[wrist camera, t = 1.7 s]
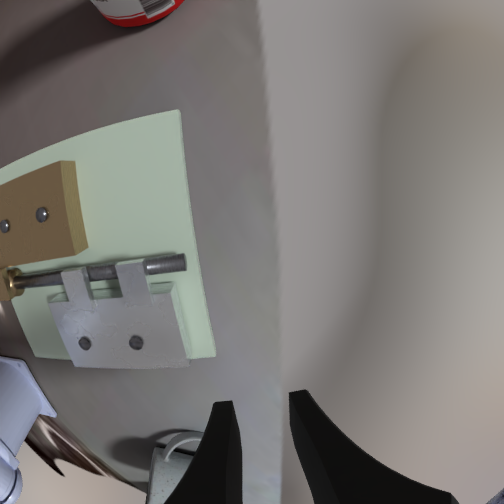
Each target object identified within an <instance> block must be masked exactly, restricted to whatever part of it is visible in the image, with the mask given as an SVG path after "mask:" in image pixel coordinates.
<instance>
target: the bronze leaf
mask: <svg viewBox="0 0 504 504" xmlns="http://www.w3.org/2000/svg"><path fill="white" fill-rule="evenodd" d="M87 248H89V246H88V242H87V237H86V232H85V227H84V222H83V216H82V210H81V204H80V197H79V190H78V182H77V174H76V163H75V161H64V160H60V161H57V162H54V163H52V164H49V165H46V166H44V167H41V168H39V169H36V170H34V171H31V172H29V173H26V174H24V175H22V176H19V177H17V178H15V179H13V180H11V181H8V182H6V183H4V184H2V185H0V301H7V300H11V299H13V298H14V297H16V296H21V295H22V294H23V293H24V291H25V289H28V288H38V287H47V286H57V285H64V283H63V280H62V276H61V272H62V271H64V270H65V269H60V270H53V271H46V272H39V273H32V274H25V275H23V273H22V272H21V271H20V270H19V269H12V270H6V267H12V266H17V265H23V264H28V263H34V262H40V261H46V260H52V259H57V258H64V257H70V256H76V255H77V254H79V253H81V252H82V251H84V250H85V249H87ZM141 259H145V260H146V265H147V269H148V274H149V275H156V274H165V273H173V272H182V271H187V259H186V255H185V253H179V254H172V255H164V256H156V257H149V258H141ZM134 260H137V259H134ZM126 261H130V260H126ZM119 262H122V261H119ZM117 263H118V262H111V263H104V264H97V265H89V266H86V270H87V274H88V277H89V281H90V282H95V281H104V280H113V279H118V276H117V272H116V268H115V265H116V264H117ZM82 267H85V266H82ZM1 268H2V269H1ZM75 268H78V267H75ZM68 269H71V268H68Z"/></svg>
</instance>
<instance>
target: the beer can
mask: <svg viewBox="0 0 504 504" xmlns="http://www.w3.org/2000/svg"><path fill="white" fill-rule="evenodd" d="M183 1H184V0H91V2H92V3H93V4H94V5H95V6H96V8H97V9H98V10H99V11H100V13H101V14H102V15H103V16H104V17H105V18H106V19H107V20H108V21H110V22H111V23H112V24H114V25H118V26H123V27H134V26H141V25H144V24H148V23H152V22H154V21H156V20H158V19H161V18H163V17H165V16H167V15H168V14H169V13H171V12H172V11H174V10H175V9H177V8H178V7H179V6H180V4H181V3H182V2H183Z"/></svg>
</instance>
